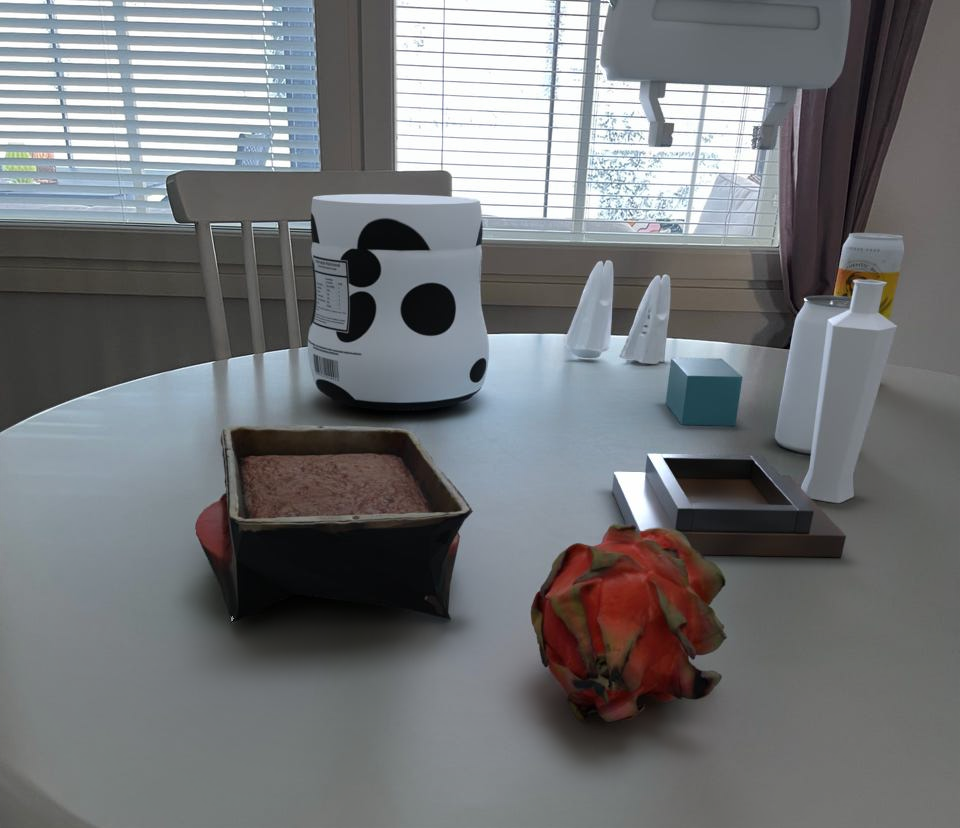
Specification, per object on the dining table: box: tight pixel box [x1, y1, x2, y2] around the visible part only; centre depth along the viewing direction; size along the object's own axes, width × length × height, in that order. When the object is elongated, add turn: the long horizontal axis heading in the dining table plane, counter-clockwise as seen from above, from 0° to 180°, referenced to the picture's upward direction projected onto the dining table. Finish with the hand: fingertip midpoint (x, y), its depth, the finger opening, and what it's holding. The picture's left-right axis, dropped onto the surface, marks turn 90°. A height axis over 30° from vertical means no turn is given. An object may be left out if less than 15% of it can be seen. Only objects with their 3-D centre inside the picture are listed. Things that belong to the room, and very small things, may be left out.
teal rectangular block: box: [665, 357, 744, 427], centre depth 89 cm, size 5×8×4 cm, turn 1°
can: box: [774, 295, 852, 455], centre depth 79 cm, size 6×6×12 cm
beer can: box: [833, 232, 905, 321], centre depth 101 cm, size 6×6×15 cm
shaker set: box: [563, 259, 672, 365], centre depth 109 cm, size 12×4×11 cm, turn 82°
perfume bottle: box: [800, 280, 898, 504], centre depth 66 cm, size 5×4×15 cm
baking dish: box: [194, 424, 474, 624], centre depth 52 cm, size 14×18×10 cm
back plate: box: [612, 453, 847, 558], centre depth 64 cm, size 13×12×3 cm
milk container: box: [307, 193, 490, 412], centre depth 88 cm, size 17×17×18 cm
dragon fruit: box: [530, 523, 728, 724], centre depth 42 cm, size 8×8×12 cm
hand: (711, 148), depth 79 cm, fingers open, 8 cm apart
